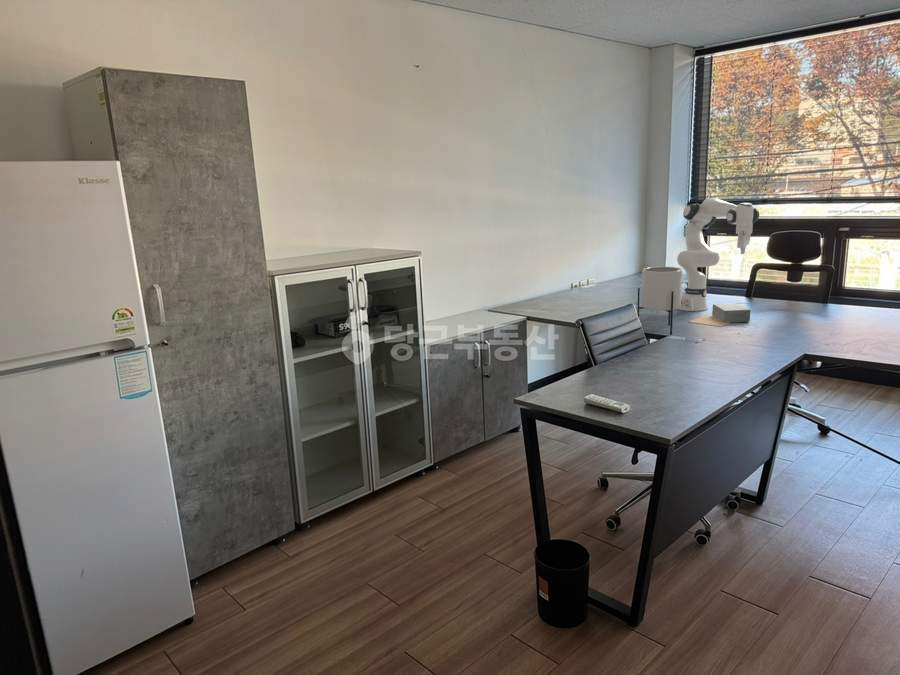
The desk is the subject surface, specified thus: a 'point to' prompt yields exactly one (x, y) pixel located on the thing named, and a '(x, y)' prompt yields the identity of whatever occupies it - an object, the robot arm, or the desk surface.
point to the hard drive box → (731, 312)
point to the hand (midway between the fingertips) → (742, 253)
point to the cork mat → (709, 321)
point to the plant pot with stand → (661, 290)
